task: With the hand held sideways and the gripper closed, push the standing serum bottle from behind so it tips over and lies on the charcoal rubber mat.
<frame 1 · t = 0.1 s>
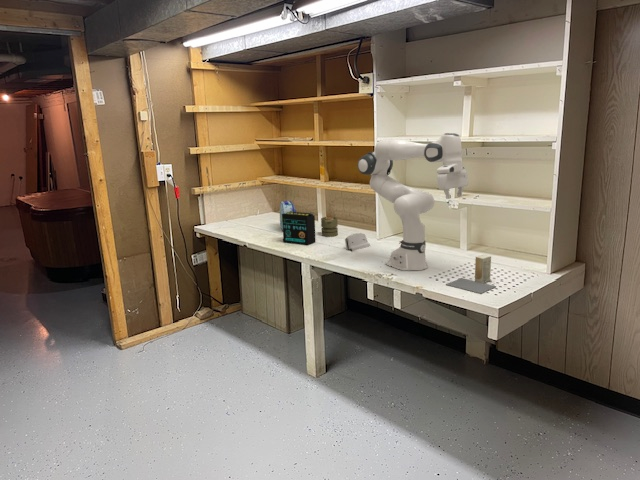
hand: (454, 197, 226), 39 cm above the workbench, tool pointing down, fingers open, 8 cm apart
battery: (299, 242, 314), on the workbench
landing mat: (470, 286, 219), on the workbench
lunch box: (288, 229, 356), on the workbench
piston: (329, 235, 333), on the workbench
skincare box: (482, 281, 226), on the workbench
hinge: (357, 248, 296), on the workbench
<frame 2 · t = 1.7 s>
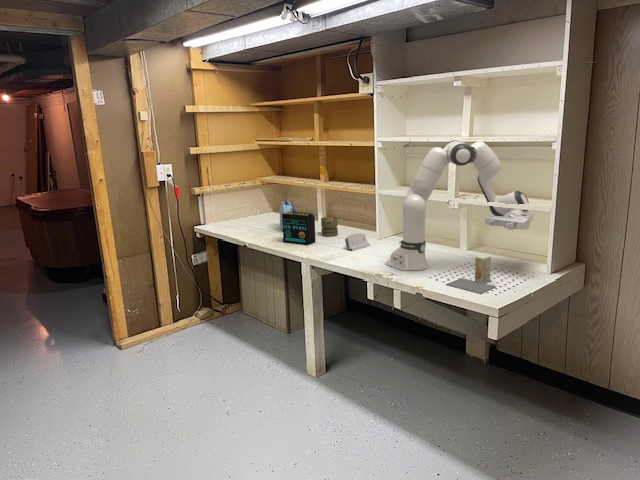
hand: (498, 224, 228), 25 cm above the workbench, tool horizontal, fingers open, 6 cm apart
nothing on the workbench moved.
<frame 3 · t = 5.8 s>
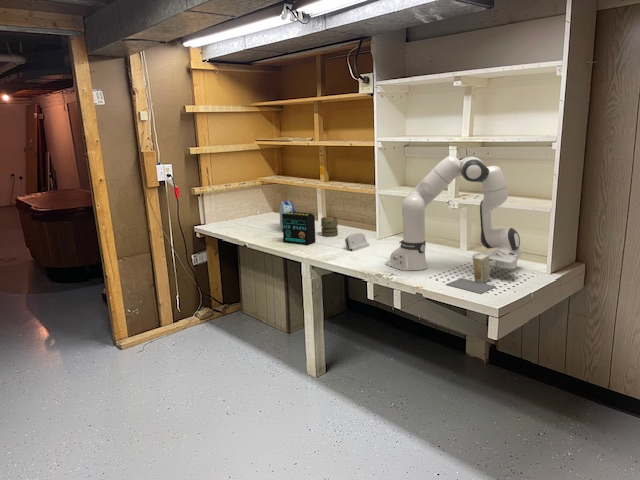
hand: (485, 263, 226), 8 cm above the workbench, tool horizontal, fingers closed
skincare box: (482, 280, 226), on the workbench, touching gripper
everything else where it was.
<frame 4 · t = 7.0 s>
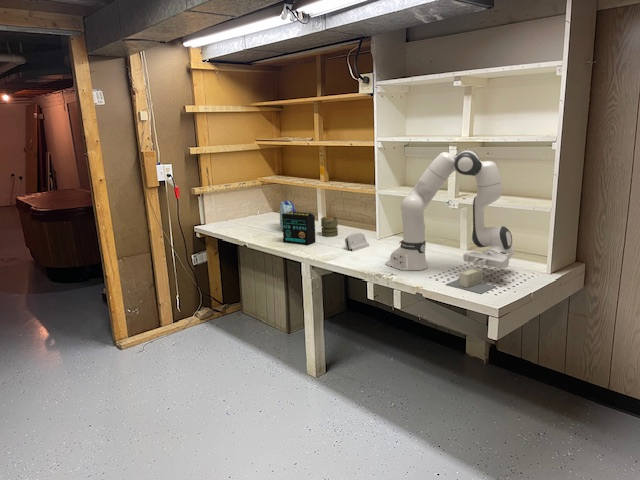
hand: (476, 263, 220), 10 cm above the workbench, tool horizontal, fingers closed
skincare box: (479, 275, 224), point 3 cm above the workbench, touching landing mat
everything else where it was.
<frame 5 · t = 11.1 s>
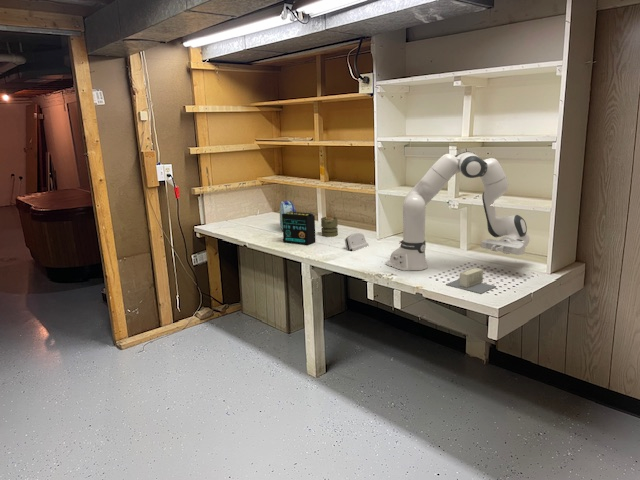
hand: (494, 249, 229), 13 cm above the workbench, tool horizontal, fingers closed
nothing on the workbench moved.
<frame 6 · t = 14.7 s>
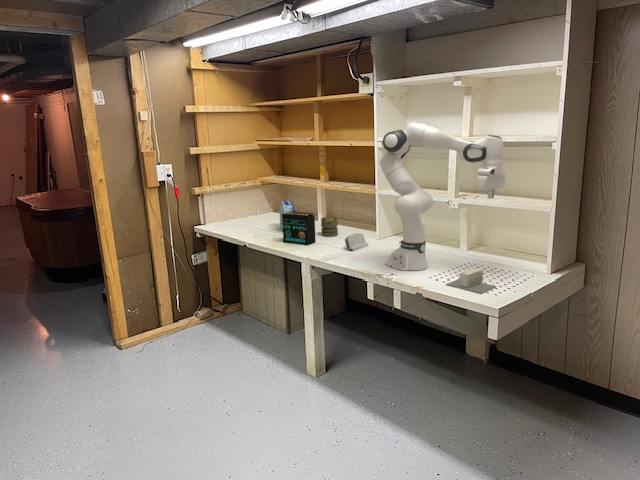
hand: (490, 198, 231), 37 cm above the workbench, tool pointing down, fingers closed
nothing on the workbench moved.
at the end: skincare box tilted 89°; skincare box touching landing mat; skincare box inside the target area (6.4 cm from its centre), point 3.3 cm above the workbench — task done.
